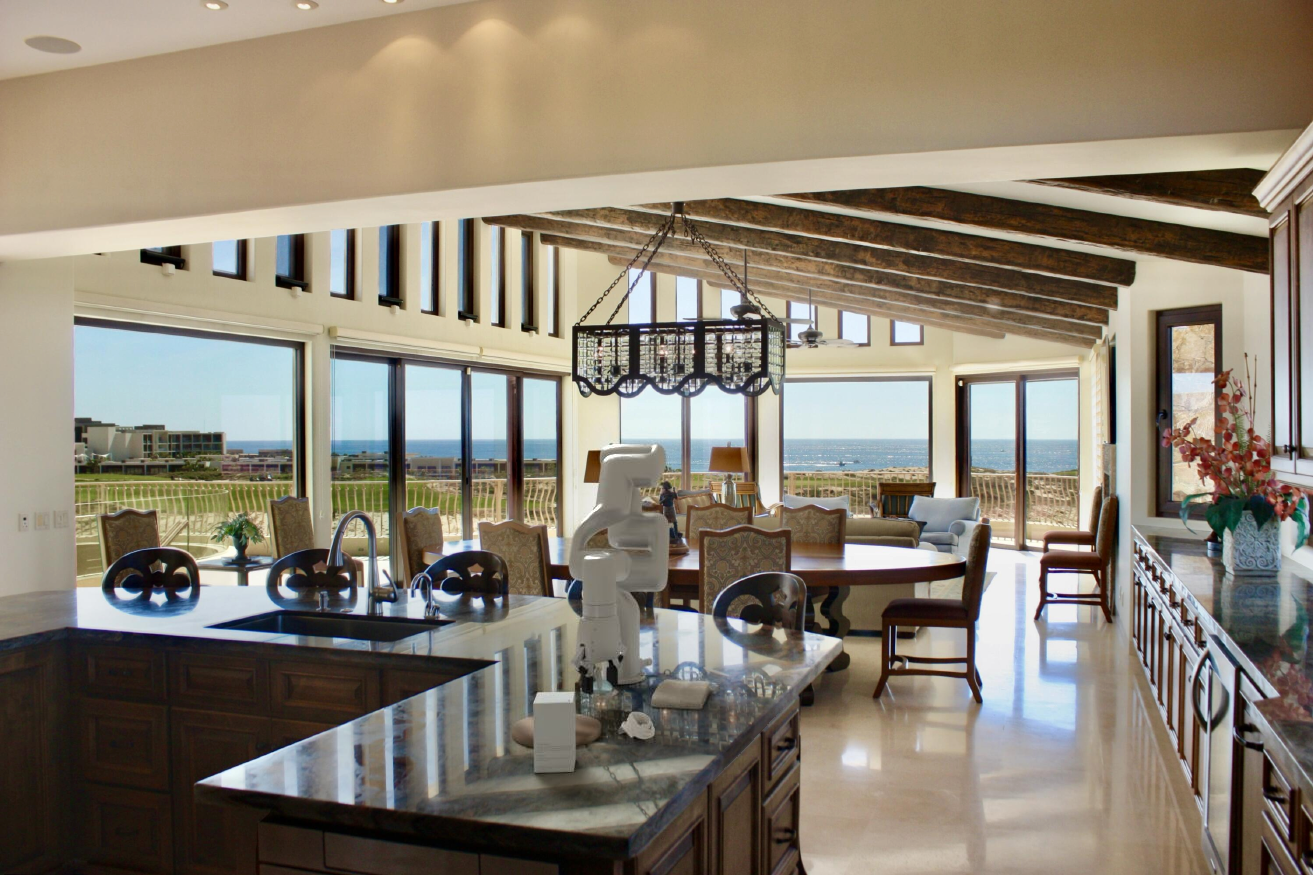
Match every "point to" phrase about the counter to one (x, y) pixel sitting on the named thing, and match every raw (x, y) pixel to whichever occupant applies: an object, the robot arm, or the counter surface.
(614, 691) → the pacifier
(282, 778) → the counter surface
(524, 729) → the walnut board
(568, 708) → the supplement box
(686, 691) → the washcloth
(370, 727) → the counter surface
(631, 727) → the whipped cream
